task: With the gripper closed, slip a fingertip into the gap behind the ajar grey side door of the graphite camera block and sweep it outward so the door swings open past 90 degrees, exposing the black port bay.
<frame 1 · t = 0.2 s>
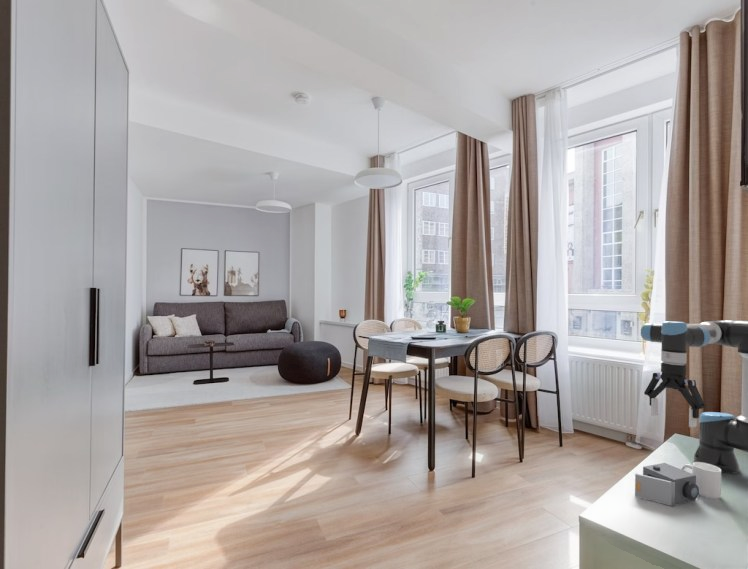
hand: (672, 420, 147), 28 cm above the table, fingers open, 13 cm apart
side door: (654, 489, 142), point 4 cm above the table, hinge at 35.0°
cup: (700, 492, 151), on the table
camera body: (668, 495, 147), on the table
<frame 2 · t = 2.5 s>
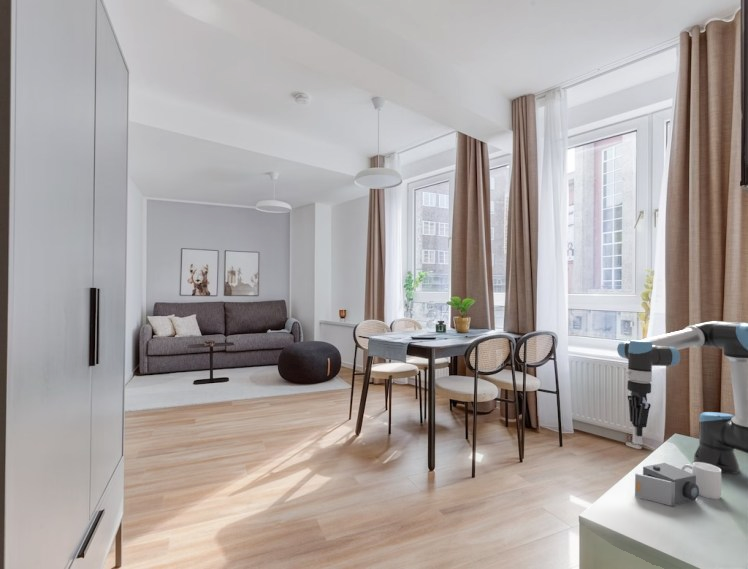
hand: (637, 443, 151), 18 cm above the table, fingers closed
nothing on the table moved.
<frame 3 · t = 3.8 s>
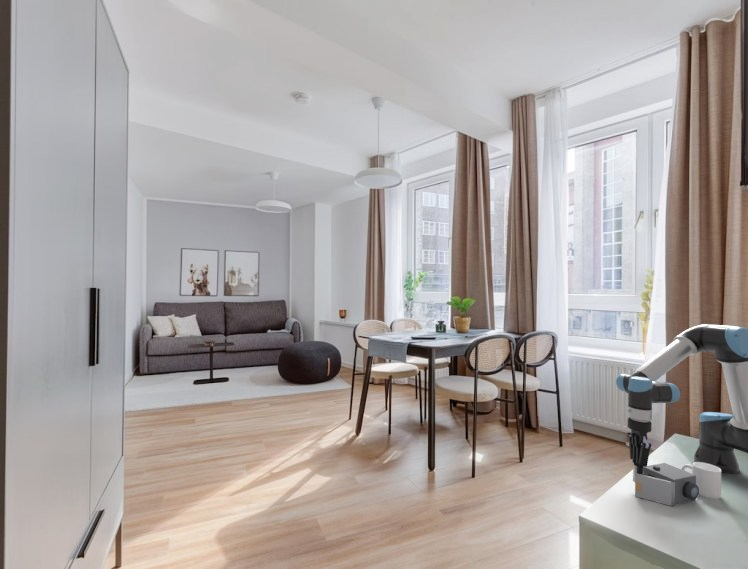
hand: (637, 482, 149), 4 cm above the table, fingers closed
nothing on the table moved.
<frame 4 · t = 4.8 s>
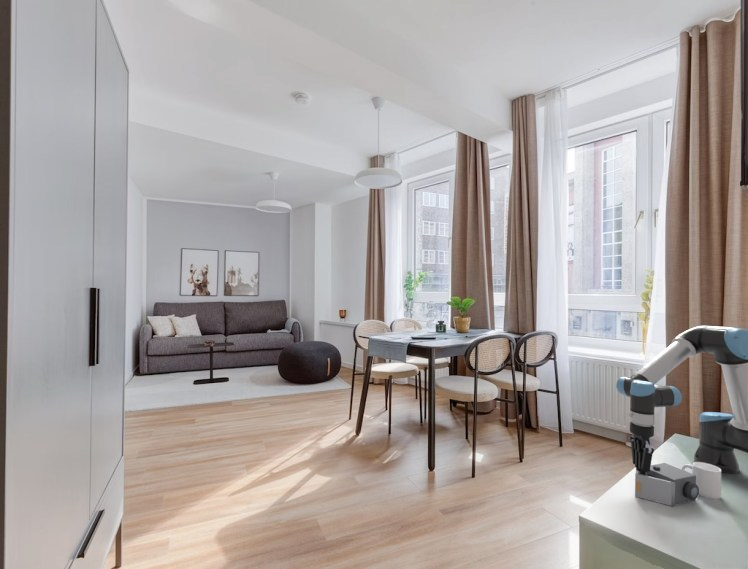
hand: (640, 487, 148), 3 cm above the table, fingers closed
side door: (654, 489, 142), point 4 cm above the table, hinge at 35.0°, touching gripper
everything else where it was.
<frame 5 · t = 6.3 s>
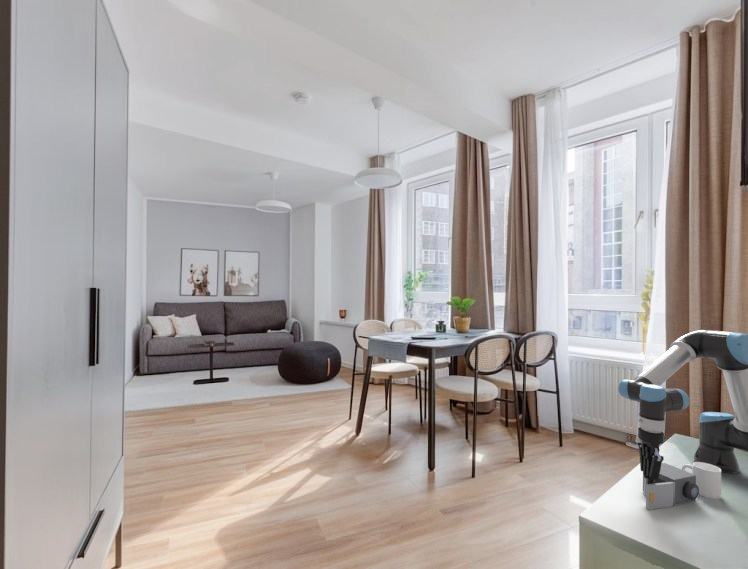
hand: (648, 495, 141), 3 cm above the table, fingers closed
side door: (661, 495, 138), point 4 cm above the table, hinge at 83.2°, touching gripper
everything else where it was.
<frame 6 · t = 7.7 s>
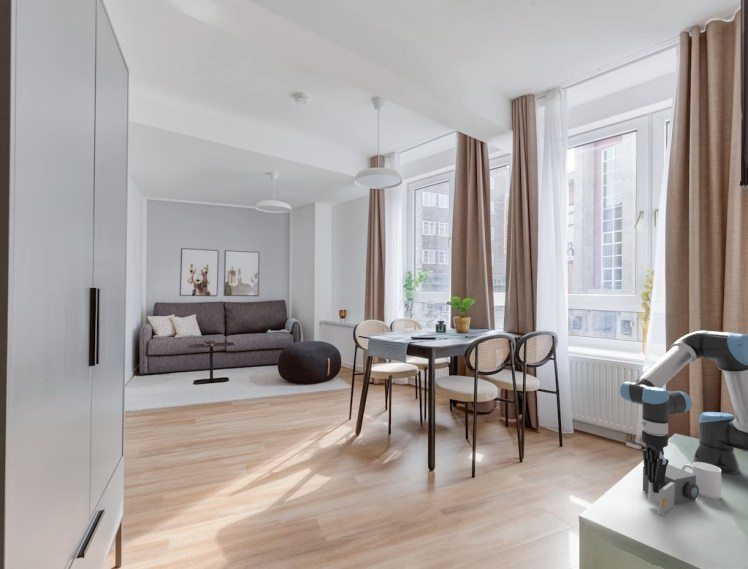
hand: (653, 500, 139), 2 cm above the table, fingers closed
side door: (667, 498, 136), point 4 cm above the table, hinge at 105.2°
everything else where it was.
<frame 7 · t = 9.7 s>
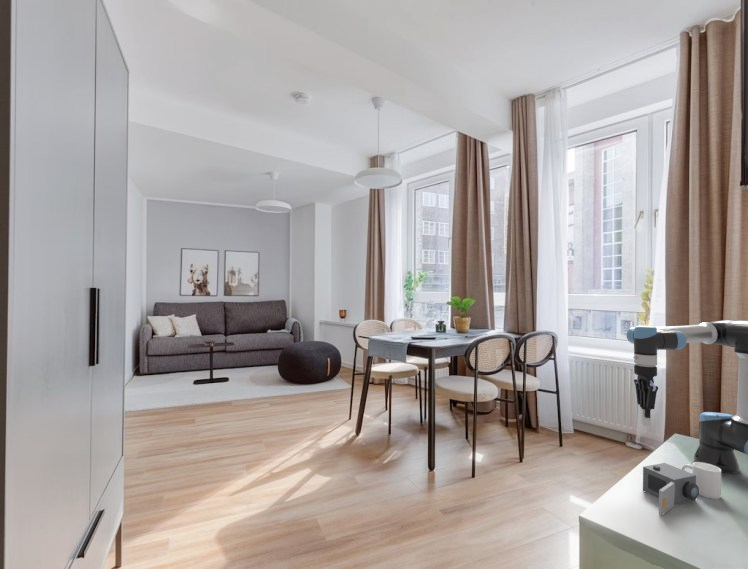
hand: (645, 425, 156), 23 cm above the table, fingers closed
nothing on the table moved.
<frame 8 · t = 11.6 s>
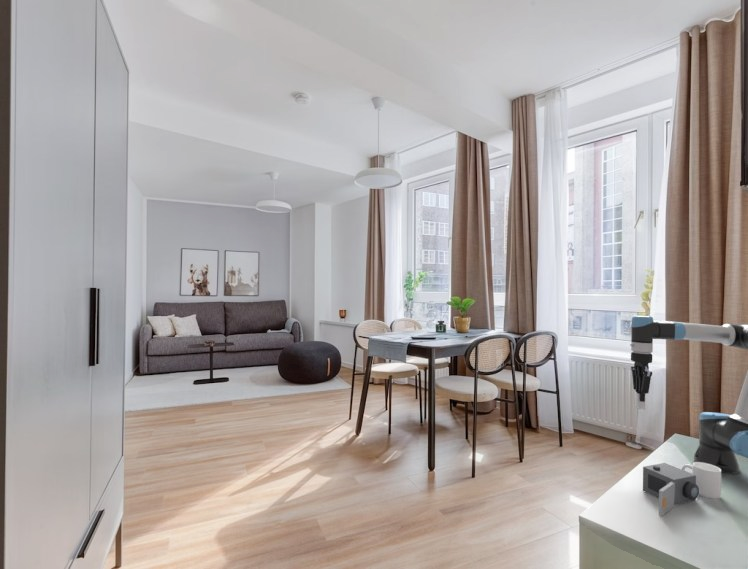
hand: (640, 408, 167), 26 cm above the table, fingers closed
nothing on the table moved.
at the end: side door at +105° (first picture: +35°); cup moved 0.2 cm from its start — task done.
